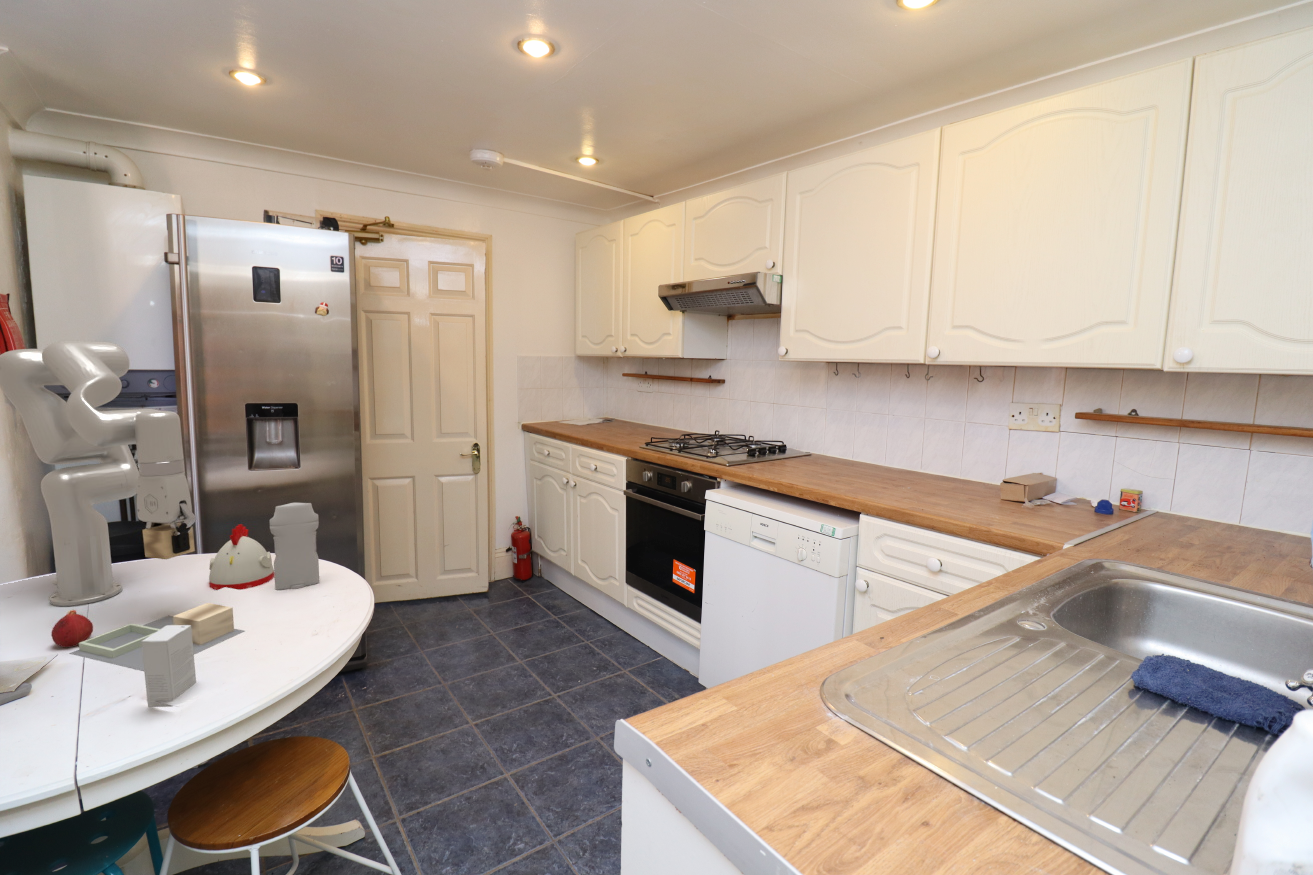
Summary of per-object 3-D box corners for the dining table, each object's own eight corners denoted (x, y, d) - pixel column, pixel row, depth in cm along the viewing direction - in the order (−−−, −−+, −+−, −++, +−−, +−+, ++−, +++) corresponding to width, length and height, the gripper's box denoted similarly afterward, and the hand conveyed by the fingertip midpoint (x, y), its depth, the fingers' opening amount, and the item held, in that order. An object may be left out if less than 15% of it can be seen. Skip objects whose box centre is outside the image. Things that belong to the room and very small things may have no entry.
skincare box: (172, 687, 105) (166, 624, 104) (197, 687, 106) (192, 624, 104) (145, 707, 99) (139, 640, 98) (172, 707, 100) (167, 640, 98)
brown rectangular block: (174, 639, 120) (172, 615, 120) (209, 624, 127) (207, 602, 126) (200, 644, 118) (198, 621, 118) (234, 629, 125) (232, 607, 124)
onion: (68, 657, 114) (64, 618, 113) (45, 653, 115) (41, 614, 114) (102, 643, 120) (98, 606, 119) (79, 640, 121) (75, 602, 120)
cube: (145, 556, 127) (142, 529, 126) (174, 548, 132) (172, 522, 132) (166, 559, 125) (163, 531, 124) (194, 550, 131) (192, 524, 130)
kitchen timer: (198, 592, 146) (194, 533, 144) (224, 572, 160) (221, 518, 158) (261, 589, 150) (258, 531, 148) (282, 569, 163) (279, 517, 161)
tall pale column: (273, 592, 148) (268, 506, 145) (272, 587, 151) (268, 503, 148) (322, 584, 154) (318, 502, 151) (320, 579, 157) (316, 498, 154)
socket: (79, 650, 115) (78, 642, 115) (132, 629, 124) (131, 623, 123) (113, 658, 112) (112, 650, 112) (164, 636, 121) (164, 629, 121)
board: (69, 659, 114) (69, 653, 114) (169, 620, 131) (168, 615, 131) (153, 679, 108) (152, 673, 108) (245, 636, 125) (245, 630, 125)
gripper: (113, 469, 125) (122, 552, 127) (173, 474, 121) (182, 559, 123) (151, 464, 132) (159, 542, 134) (210, 468, 128) (217, 548, 130)
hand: (170, 549), depth 129 cm, fingers closed on cube, 6 cm apart
